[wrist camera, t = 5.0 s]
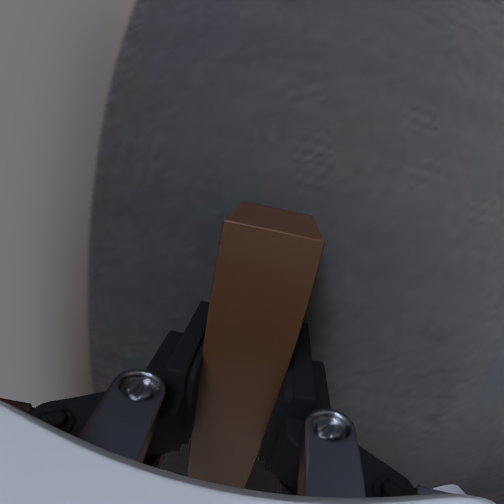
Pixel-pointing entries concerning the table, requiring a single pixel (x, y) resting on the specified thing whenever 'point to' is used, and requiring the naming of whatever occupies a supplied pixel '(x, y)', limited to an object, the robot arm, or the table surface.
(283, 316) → the knife
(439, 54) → the table surface
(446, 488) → the cup
